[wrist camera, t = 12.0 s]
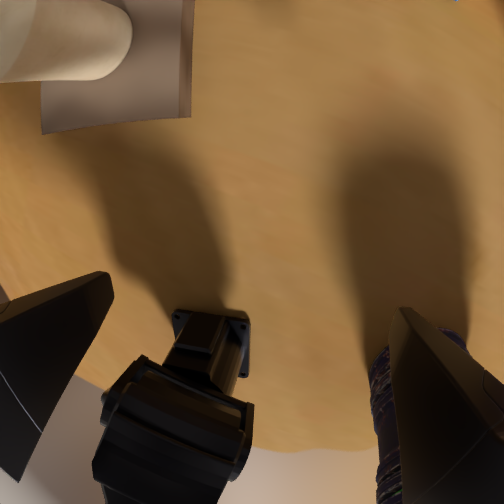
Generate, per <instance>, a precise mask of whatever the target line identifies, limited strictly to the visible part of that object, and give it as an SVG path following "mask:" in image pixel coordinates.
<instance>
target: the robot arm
mask: <svg viewBox="0 0 504 504" xmlns="http://www.w3.org/2000/svg"><path fill="white" fill-rule="evenodd" d="M113 300H114V291H113V286H112V281H111V277H110V275H109V273H107V272H102V271H96V272H93V273H90V274H87V275H84V276H81V277H78V278H75V279H72V280H69V281H66V282H63V283H60V284H57V285H54V286H51V287H48V288H45V289H42V290H39V291H37V292H34V293H31V294H28V295H25V296H22V297H19V298H16V299H14V300H12V301H8V302H5V303H2V304H0V469H1V470H2V471H3V472H5V473H6V474H7V475H8V476H10V477H11V478H12V479H13V480H15V481H16V482H17V483H19V481H20V480H21V478H22V475H23V473H24V471H25V468H26V466H27V464H28V462H29V460H30V458H31V455H32V453H33V451H34V449H35V447H36V445H37V443H38V441H39V438H40V436H41V434H42V432H43V430H44V428H45V426H46V424H47V422H48V420H49V418H50V416H51V414H52V412H53V410H54V409H55V407H56V405H57V403H58V401H59V399H60V397H61V395H62V394H63V392H64V390H65V388H66V386H67V385H68V383H69V381H70V379H71V377H72V376H73V374H74V372H75V370H76V369H77V367H78V365H79V364H80V362H81V360H82V358H83V357H84V355H85V353H86V352H87V350H88V348H89V347H90V345H91V343H92V342H93V340H94V338H95V337H96V335H97V333H98V331H99V329H100V327H101V325H102V323H103V321H104V319H105V317H106V315H107V313H108V311H109V309H110V307H111V305H112V303H113ZM176 314H177V315H179V316H180V317H179V316H177V315H176ZM172 322H173V328H174V335H175V342H174V344H173V346H172V348H171V350H170V351H169V353H168V355H167V357H166V358H165V360H164V362H163V364H162V366H161V365H159V364H157V363H155V362H153V361H151V360H149V359H148V357H146V356H144V355H141V356H140V357H139V358H138V359H137V360H136V361H135V360H134V361H133V363H132V364H131V365H130V366H129V367H128V368H127V369H126V371H125V372H124V373H123V374H122V375H121V376H120V377H119V379H118V380H117V381H116V382H115V383H114V384H113V385H112V386H111V387H110V388H109V389H107V390H106V391H105V392H104V393H103V394H102V396H101V401H102V404H103V409H102V414H101V418H100V424H101V425H103V426H104V427H106V428H105V430H104V433H103V435H102V438H101V440H100V443H99V445H98V447H97V450H96V453H95V456H94V458H93V460H92V471H93V478H94V480H95V481H97V482H99V483H101V487H102V491H103V494H104V498H105V504H217V502H218V499H219V498H220V496H221V494H222V492H223V490H224V488H225V486H226V484H227V481H231V482H232V481H234V480H235V479H236V478H237V477H238V476H239V475H240V473H241V471H242V470H243V468H244V466H245V464H246V461H247V459H248V456H249V453H250V449H251V445H252V437H253V420H254V404H252V403H249V402H247V403H246V402H243V401H241V400H238V399H236V398H233V397H232V394H233V391H234V387H235V384H236V381H237V377H240V378H247V377H248V375H249V366H250V330H251V324H250V322H249V321H248V320H246V319H241V318H233V317H226V316H219V315H213V314H206V313H199V312H193V311H187V310H181V309H175V310H174V311H173V313H172ZM242 325H245V327H244V326H242ZM389 349H390V368H391V383H392V390H393V397H394V404H395V411H396V419H397V428H398V437H399V448H400V460H401V474H402V495H403V504H504V385H503V384H502V383H501V382H500V381H499V380H498V379H496V378H495V377H494V376H493V375H492V374H491V373H489V372H488V371H487V370H484V367H482V366H481V365H480V364H479V363H478V362H477V361H475V360H474V359H473V358H472V357H471V356H470V355H468V354H467V353H466V352H465V351H464V350H462V349H461V348H460V347H459V346H458V345H456V344H455V343H454V342H453V341H452V340H450V339H449V338H448V337H447V336H446V335H444V334H443V333H442V332H441V331H439V330H438V329H437V328H436V327H435V326H433V325H432V324H431V323H430V322H428V321H427V320H426V319H425V318H423V317H422V316H421V315H420V314H418V313H417V312H416V311H414V310H413V309H412V308H410V307H398V308H397V309H396V311H395V314H394V317H393V320H392V323H391V326H390V330H389ZM242 372H243V373H242Z"/></svg>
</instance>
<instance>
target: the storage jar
mask: <svg viewBox="0 0 504 504" xmlns="http://www.w3.org/2000/svg"><path fill="white" fill-rule="evenodd" d="M437 329H438V330H439V331H441V332H442V333H443V334H444V335H446V336H447V337H448V338H449V339H450V340H452V341H453V342H454V343H455V344H456V345H458V346H459V347H460V348H461V349H462V350H464V351H465V352H466V353H467V354H468V355H470V354H469V352H468V350H467V348H466V345H465V343H464V341H463V339H462V338H461V337H460V336H459V335H458V334H457V333H455V332H454V331H452V330H449V329H445V328H437ZM470 356H471V355H470ZM471 357H472V356H471ZM369 384H370V389H371V391H370V392H371V397H370V404H371V414H372V417H373V421H374V430H375V433H376V434H377V436H378V447H379V460H380V464H379V466H378V469H377V475H376V482H377V486H378V488H377V490H376V501H377V502H376V503H377V504H403V495H402V474H401V460H400V448H399V437H398V428H397V419H396V411H395V404H394V397H393V390H392V383H391V368H390V349H389V345H388V346H387V347H386V348H385V349H384V350H383V351H382V352H381V353H380V354H379V355H378V356H377V358H376V359H375V360H374V362H373V364H372V366H371V369H370V372H369Z"/></svg>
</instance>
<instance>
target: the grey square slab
mask: <svg viewBox="0 0 504 504" xmlns="http://www.w3.org/2000/svg"><path fill="white" fill-rule="evenodd" d="M101 1H104V2H106V3H109V4H112V5H114V6H116V7H118V8H120V9H122V10H123V11H124V12H126V13H127V15H128V16H129V18H130V19H131V22H132V27H133V37H132V42H131V45H130V48H129V51H128V53H127V55H126V56H125V58H124V60H123V61H122V62H121V64H120V65H119V66H118V67H117V68H116V69H115V70H114V71H113V72H111V73H110V74H108V75H107V76H105V77H103V78H100V79H96V80H45V81H41V128H42V135H45V134H50V133H55V132H60V131H66V130H72V129H78V128H84V127H91V126H98V125H106V124H114V123H122V122H132V121H143V120H155V119H171V118H187V117H191V77H192V44H193V22H194V5H195V0H101Z"/></svg>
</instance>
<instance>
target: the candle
mask: <svg viewBox="0 0 504 504" xmlns="http://www.w3.org/2000/svg"><path fill="white" fill-rule="evenodd" d="M132 37H133V27H132V22H131V19H130V18H129V16H128V15H127V13H126V12H124V11H123V10H122V9H120V8H118V7H116V6H114V5H112V4H109V3H106V2H104V1H101V0H0V83H7V82H21V81H45V80H96V79H100V78H103V77H105V76H107V75H108V74H110V73H111V72H113V71H114V70H115V69H116V68H117V67H118V66H119V65H120V64H121V62H122V61H123V60H124V58H125V56H126V55H127V53H128V51H129V48H130V45H131V42H132Z"/></svg>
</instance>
